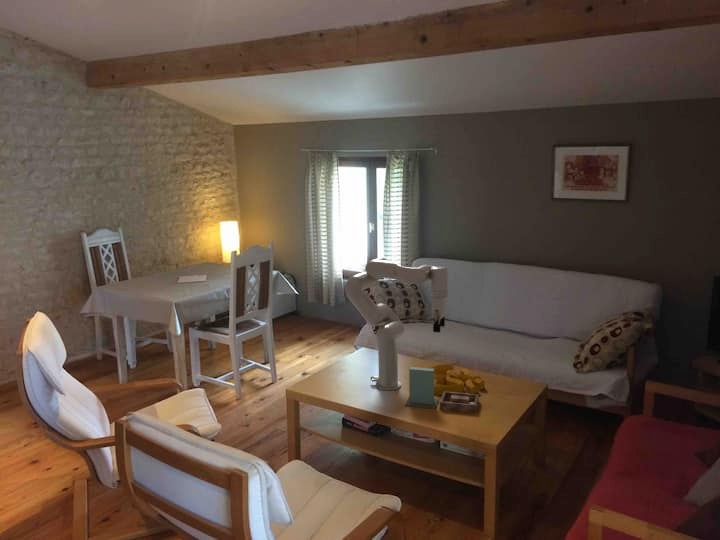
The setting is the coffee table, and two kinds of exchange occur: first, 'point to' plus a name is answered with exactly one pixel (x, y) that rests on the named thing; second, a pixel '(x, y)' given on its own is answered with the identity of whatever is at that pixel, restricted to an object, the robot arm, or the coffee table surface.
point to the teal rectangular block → (421, 385)
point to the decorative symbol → (455, 380)
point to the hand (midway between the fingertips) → (439, 329)
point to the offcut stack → (460, 399)
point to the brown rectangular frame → (459, 406)
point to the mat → (422, 404)
